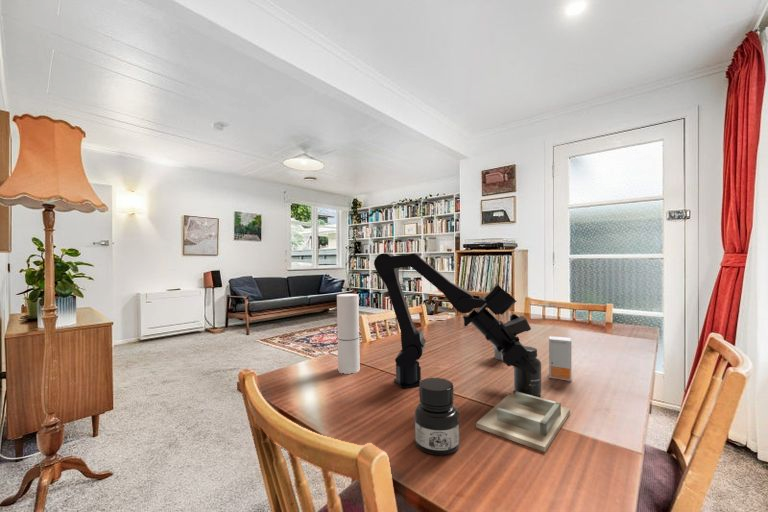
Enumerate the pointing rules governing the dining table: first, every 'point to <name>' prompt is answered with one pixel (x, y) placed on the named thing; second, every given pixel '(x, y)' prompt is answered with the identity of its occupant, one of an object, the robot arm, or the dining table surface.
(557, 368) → the skincare box
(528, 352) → the supplement bottle
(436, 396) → the ink bottle
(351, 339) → the cylindrical container
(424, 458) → the dining table surface
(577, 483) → the dining table surface
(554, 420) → the cradle board
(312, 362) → the dining table surface
